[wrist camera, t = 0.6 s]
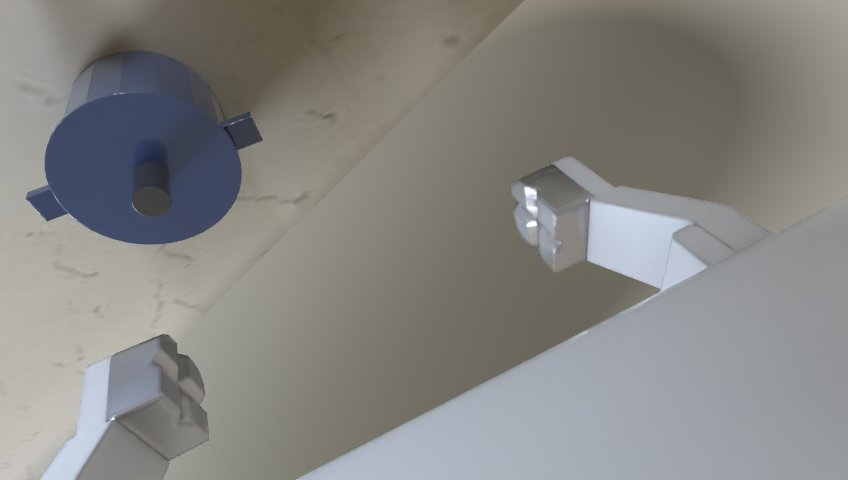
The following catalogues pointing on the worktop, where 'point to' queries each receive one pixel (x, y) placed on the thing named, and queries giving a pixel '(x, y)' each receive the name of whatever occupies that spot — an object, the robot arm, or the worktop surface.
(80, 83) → the pot
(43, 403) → the worktop surface
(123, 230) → the lid
